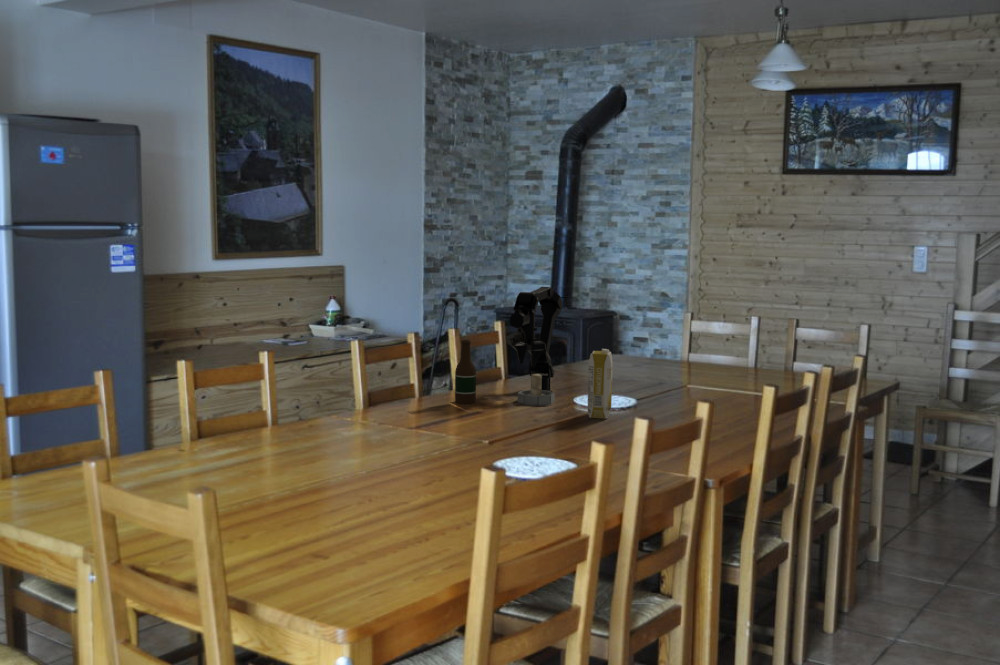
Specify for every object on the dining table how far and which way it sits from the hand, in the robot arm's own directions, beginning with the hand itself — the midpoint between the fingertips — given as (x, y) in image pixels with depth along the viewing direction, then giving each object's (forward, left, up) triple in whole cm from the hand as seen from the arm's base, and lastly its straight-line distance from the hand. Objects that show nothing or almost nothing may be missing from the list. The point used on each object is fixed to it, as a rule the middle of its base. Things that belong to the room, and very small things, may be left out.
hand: (526, 365), depth 380 cm
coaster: (+12, -1, -13) cm, 17 cm away
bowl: (+2, +11, -13) cm, 17 cm away
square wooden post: (+2, +11, -12) cm, 17 cm away
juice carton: (-7, +41, -13) cm, 44 cm away
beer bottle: (+27, +2, -13) cm, 30 cm away
